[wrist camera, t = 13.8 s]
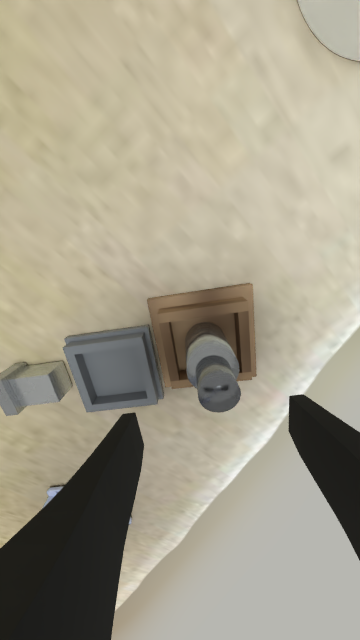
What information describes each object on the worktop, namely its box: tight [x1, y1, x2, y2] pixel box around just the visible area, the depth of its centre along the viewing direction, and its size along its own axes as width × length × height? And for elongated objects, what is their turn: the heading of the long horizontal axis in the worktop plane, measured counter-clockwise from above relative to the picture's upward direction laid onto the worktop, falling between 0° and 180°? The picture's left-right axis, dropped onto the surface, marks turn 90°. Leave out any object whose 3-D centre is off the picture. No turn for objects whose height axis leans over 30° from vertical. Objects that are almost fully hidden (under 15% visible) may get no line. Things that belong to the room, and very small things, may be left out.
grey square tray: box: [63, 325, 164, 412], centre depth 20 cm, size 8×8×2 cm
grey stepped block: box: [0, 361, 72, 416], centre depth 20 cm, size 5×4×3 cm
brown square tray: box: [147, 283, 256, 389], centre depth 18 cm, size 9×9×2 cm
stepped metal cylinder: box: [185, 322, 241, 412], centre depth 15 cm, size 4×4×8 cm
